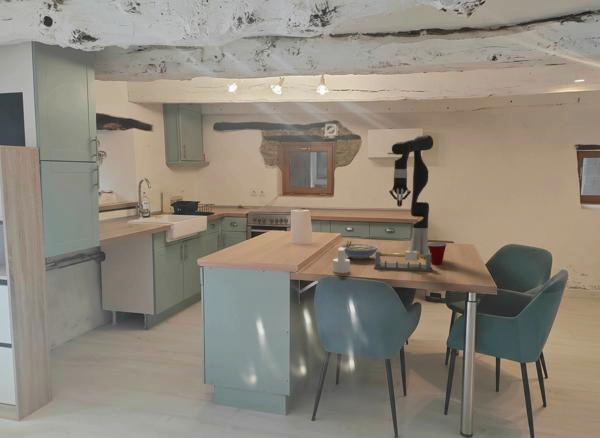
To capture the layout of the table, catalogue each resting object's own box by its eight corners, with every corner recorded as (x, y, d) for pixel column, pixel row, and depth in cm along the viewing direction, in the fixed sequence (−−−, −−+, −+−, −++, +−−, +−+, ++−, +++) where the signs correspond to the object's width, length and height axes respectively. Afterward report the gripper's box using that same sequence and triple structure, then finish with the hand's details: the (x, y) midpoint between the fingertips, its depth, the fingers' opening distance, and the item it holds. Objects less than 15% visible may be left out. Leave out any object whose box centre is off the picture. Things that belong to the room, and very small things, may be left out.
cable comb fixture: (374, 268, 242) (374, 253, 241) (375, 264, 254) (375, 249, 253) (431, 271, 236) (432, 255, 235) (430, 267, 247) (430, 251, 246)
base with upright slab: (349, 273, 232) (349, 250, 231) (332, 272, 234) (332, 250, 232) (350, 269, 241) (350, 247, 240) (333, 268, 243) (333, 247, 241)
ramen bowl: (377, 263, 256) (377, 249, 255) (337, 261, 261) (337, 248, 260) (378, 255, 281) (378, 242, 280) (342, 253, 285) (342, 241, 284)
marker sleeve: (405, 260, 242) (405, 239, 240) (405, 258, 246) (405, 238, 245) (416, 261, 240) (417, 239, 239) (416, 259, 245) (417, 238, 244)
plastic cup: (425, 261, 262) (426, 241, 261) (444, 262, 260) (445, 241, 259) (427, 265, 251) (427, 244, 250) (447, 266, 249) (448, 245, 248)
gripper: (388, 177, 257) (387, 207, 259) (412, 177, 254) (411, 207, 256) (389, 176, 265) (388, 205, 267) (411, 176, 262) (411, 206, 264)
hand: (399, 206), depth 262 cm, fingers closed
